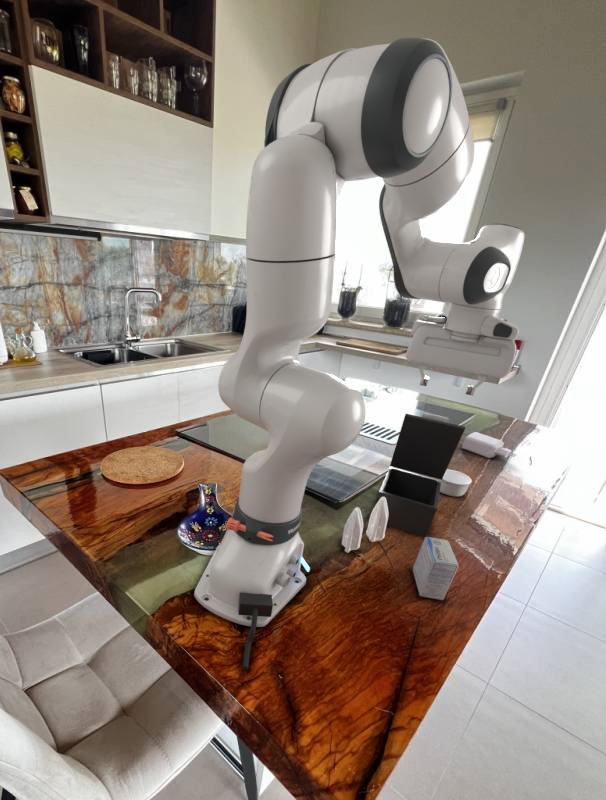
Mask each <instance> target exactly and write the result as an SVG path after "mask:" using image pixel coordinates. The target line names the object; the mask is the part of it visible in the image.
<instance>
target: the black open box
mask: <svg viewBox="0 0 606 800" xmlns="http://www.w3.org/2000/svg"><path fill="white" fill-rule="evenodd" d="M440 487H441V480H437V479H436V478H433V477H429V476H426V475H422V474H418V473H415V472H411V471H407V470H404V469H400V468H396V467H392V466H389V467H388V470H387V472H386V474H385V477H384V479H383V481H382V483H381V486H380V488H379V491H378V493H377V497H376V500H375V502H374V506H373V508H374V507H375V505H376V504H377V502H378V501H379V500H380V498H381V497H385V498H386V501H387V506H388V513H389V515H388V521H387V525H386V526H389V527H392V528H395V529H398V530H401V531H404V532H407V533H411V534H414V535H417V536H419V537H422V538H425V537H427V534H428V532H429V530H430V527H431V525H432V523H433V520H434V517H435V515H436V513H437V510H438V507H439V500H440V493H441V492H440Z"/></svg>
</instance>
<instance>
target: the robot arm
mask: <svg viewBox="0 0 606 800" xmlns="http://www.w3.org/2000/svg"><path fill="white" fill-rule="evenodd" d="M469 115H470V114H469V111H468V107H467V103H466V99H465V96H464V93H463V90H462V87H461V83H460V82H459V79H458V75H457V74H456V72H455V70H454V67H453V65H452V63H451V61H450V59H449V57H448V55H447V53H446V51H445V50H444V48H443V47H442V45H441V44H440V43H438V42H437V41H436V40H433V39H431V38H427V37H426V38H424V37H421V38H420V37H401V38H398V39H396V40H394V41H393V42H391V43H383V44H374V45H369V46H363V47H360V48H357V47H351V48H346V49H344V50H343V49H342V50H340V51H337V52H335V53H332V54H330V55H328V56H326V57H324V58H321V59H319V60H317V61H315V62H313V63H305V64H302V65H300V66H299V67H297V68H296V69H294V70H293V71H291V72H290V73H289V74H287V76H286V77H284V78H283V79H282V80H281V82H280V83H279V84H278V85H277V86H276V88H275V90H274V92H273V94H272V97H271V99H270V103H269V106H268V109H267V114H266V119H265V127H264V129H265V130H264V142H263V143H264V145H263V146H264V148H263V149H262V150H261V151H260V152H259V153H258V155H257V156H256V158H255V160H254V163H253V165H252V170H251V175H250V182H249V189H248V199H247V211H246V222H245V223H246V224H245V225H246V227H245V261H246V263H245V266H246V267H245V268H246V269H245V271H246V272H245V273H246V316H245V317H246V318H245V326H244V330H243V335H242V339H241V342H240V345H239V347H238V349H237V351H236V353H235V354H234V355H232V356H231V357H230V358H229V359H228V360H227V361H226V362H225V363H224V365H223V367H222V368H221V371H220V375H219V377H218V382H217V388H218V393H219V397H220V399H221V401H222V403H224V405H225V406H226V407H228V408H229V409H230V410H231V411H232V412H233V413H234V414H236V416H238V417H239V418H240V419H242V420H243V421H246V422H248V423H250V424H252V425H254V426H256V427H259V428H260V429H263V430H265V431H266V432H267V433H268V436H269V441H268V445H267V448H265V449H261V450H258V451H256V452H254V453H253V454H251V455H250V456H248V458H247V459H246V460H245V461H244V463H243V465H242V467H241V476H240V483H239V494H238V498H237V499H236V502H235V505H234V506H233V507H234V508H233V511H232V515H231V517H229V518H228V519H227V521H226V525H225V529H226V531H225V533H224V535H223V538H222V540H221V542H220V544H218V545H217V547H216V549H215V551H214V552H213V555H212V556H211V558H210V560H209V561H208V564H207V566H206V568H205V569H204V571H203V572H202V573H203V574H202V576H201V577H200V579H199V581H198V583H197V584H196V586H195V589H194V592H193V596H194V598H195V599H196V601H197V602H198V603H199V604H200V605H201V606H202V607H203V608H205V609H206V610H207V611H209V612H211V613H213V614H214V615H216V616H218V617H221V618H222V619H225V620H227V621H229V622H232V623H235V624H238V625H242V626H246V627H250V629H249V632H248V636H247V638H246V641H245V646H244V651H243V661H242V670H244V671H247V670H249V665H250V664H249V663H250V654H251V647H252V643H253V641H254V640H253V639H254V637H255V635H256V631H257V630H256V629H257V628H262V627H266V625H268V624H269V623H270V622H271V621H272V620H273V619H274V618H275V617H276V615H278V614H279V613H280V611H281V610H283V608H284V607H286V605H287V604H288V603H289V602H290V601H291V600H292V599H293V598H294V597H295V596H296V595H297V594H298V593H299V592H300V591H301V590H302V588H304V587H305V585H306V584H307V577H306V576H305V574H304V573H303V572H302V571H301V566H303V567H304V569H305V571H306V572H308V573H309V572H310V570H311V567H310V566H309V564H308V563H307V562H306V560H305V559H304V557H303V553H304V547H305V544H304V541H303V540H302V537H301V535H300V533H299V530H300V527H301V523H302V519H303V508H302V505H303V500H304V495H305V491H306V488H307V484H308V481H309V478H310V476H311V474H312V472H313V470H314V469H315V467H316V466H317V465H318V464H319V463H320V462H321V461H322V460H324V459H325V458H328V457H330V456H333V455H337V454H339V453H342V452H343V451H344V450H346V449H348V448H349V447H350V446H351V445H352V444H353V443H354V442H355V441H356V439H357V438H358V437H359V436H360V434H361V432H362V429H363V427H364V424H365V419H366V403H365V400H364V396H363V395H362V393H361V392H360V391H359V390H358V389H357V388H355V387H353V386H352V385H351V384H349V383H347V382H346V381H344V380H342V379H340V378H339V377H337V376H336V375H334V374H331V373H328V372H326V371H325V372H324V371H322V370H319V369H315V368H312V367H309V366H306V365H303V364H301V363H300V359H299V353H300V349H301V345H302V342H303V341H304V340H307V339H309V338H310V337H312V336H314V335H315V334H317V333H318V332H319V331H320V330H321V329H322V328H323V327H324V326H325V325H326V323H327V322H328V320H329V318H330V315H331V311H332V300H333V289H334V277H335V269H336V268H335V266H336V255H337V244H338V225H339V224H338V220H339V218H338V217H339V213H338V211H339V208H338V205H339V204H338V203H339V202H338V201H339V197H340V194H341V191H342V189H343V187H344V185H345V183H346V182H355V181H363V180H369V179H375V178H378V177H379V178H381V179H382V181H383V183H384V184H383V186H382V187H381V188H382V189H381V191H380V195H379V199H378V211H379V216H380V222H381V227H382V230H383V234H384V237H385V240H386V244H387V248H388V252H389V256H390V258H391V263H392V266H393V271H392V272H393V282H394V286H395V289H396V290H397V293H398V294H399V296H401V297H402V298H404V299H411V300H412V299H413V300H427V301H433V302H437V303H438V302H439V303H445V304H451V305H450V307H449V311H448V313H447V317H446V318H445V317H437V316H436V317H434V316H430V315H423V317H419V318H417V319H415V321H414V323H413V324H412V328H411V333H410V334H411V340H410V343H409V345H408V347H407V349H406V352H405V360H406V361H407V362H409V363H415V364H420V365H419V368H418V370H419V373H420V377H421V379H420V381H419V386H422V387H427V386H428V382H429V380H430V377H429V376H427V375H426V371H425V370H427V368H428V366H433V367H438V368H442V369H443V368H444V369H448V370H449V369H450V370H454V371H460V372H466V373H470V374H477V375H478V376H477V381H476V382H474V383H473V384H468V385H467V389H465V390H466V391H465V395H468V396H474V394H475V391H476V390H477V388H478V387H480V386H481V385H482V384H484V383H485V382H486V380H487V377H493V378H499V379H504V378H505V377H507V376H509V374H510V372H511V370H512V368H513V364H514V360H515V357H516V352H517V344H516V342H515V339H516V338H517V337H518V335H519V333H520V329H519V327H518V326H517V325H516V324H514V323H512V322H510V321H508V320H507V318H506V319H505V318H502V317H500V312H501V311H502V310H501V309H502V308H503V307H502V306H503V301H504V296H505V294H506V292H507V291H508V289H509V287H510V286H511V285H512V282H513V279H514V277H515V274H516V271H517V268H518V265H519V263H520V259H521V255H522V253H523V248H524V244H525V237H526V234H525V232H524V230H523V229H521V228H519V227H517V226H515V225H510V224H507V223H490V224H486V225H484V226H482V227H481V228H480V230H479V232H478V233H477V236H476V238H475V239H473V240H470V241H469V242H453V241H452V242H451V241H437V240H434V239H430V238H428V237H425V236H424V235H423V230H422V224H421V220H423V219H426V218H428V217H430V216H433V215H434V214H436V213H437V212H439V211H441V210H442V209H443V208H444V207H445V206H446V205H448V204H449V203H450V202H451V201H452V199H454V197H456V195H457V194H458V193H459V192H460V190H461V189H462V188H463V186H464V184H465V182H466V180H467V179H468V176H469V174H470V172H471V170H472V167H473V163H474V159H475V137H474V132H473V128H472V123H471V119H470V116H469Z"/></svg>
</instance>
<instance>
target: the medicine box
mask: <svg viewBox="0 0 606 800" xmlns="http://www.w3.org/2000/svg"><path fill="white" fill-rule="evenodd" d="M459 566H460V565H459V562H458V560H457V558H456V556H455V554H454V550H453V548H452V546H451V543H450V541H449V540H447V539H443V538H437V537H430V536H426V537H424V539H423V542H422V544H421V546H420V549H419V551H418V554H417V557H416V559H415V562H414V564H413V567H412V573H413V576H414V580H415V583H416V587H417V590H418V594H419V597H423V598H428V599H432V600H439V601H444V599H445V597H446V595H447V593H448V591H449V589H450V587H451V584H452V582H453V580H454V578H455V575H456V573H457V571H458V569H459Z"/></svg>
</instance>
